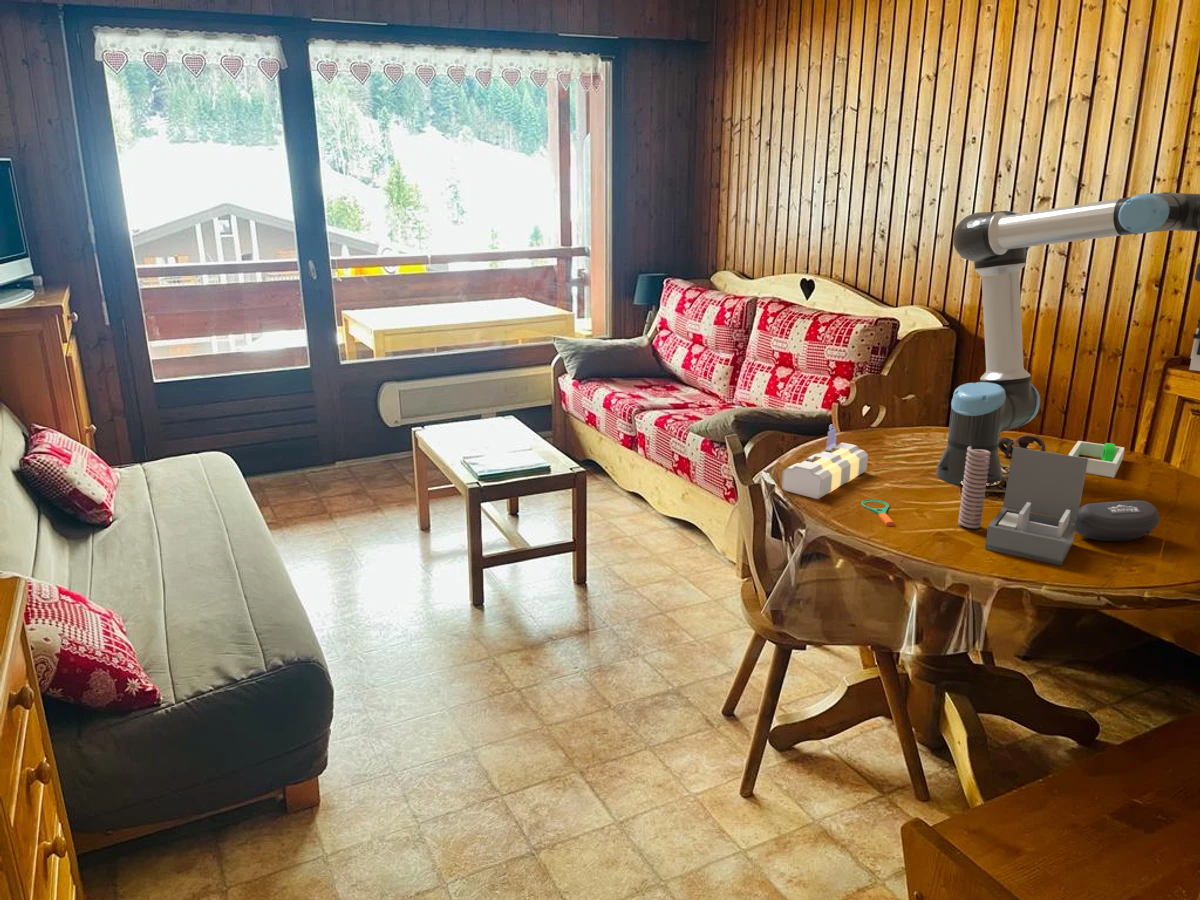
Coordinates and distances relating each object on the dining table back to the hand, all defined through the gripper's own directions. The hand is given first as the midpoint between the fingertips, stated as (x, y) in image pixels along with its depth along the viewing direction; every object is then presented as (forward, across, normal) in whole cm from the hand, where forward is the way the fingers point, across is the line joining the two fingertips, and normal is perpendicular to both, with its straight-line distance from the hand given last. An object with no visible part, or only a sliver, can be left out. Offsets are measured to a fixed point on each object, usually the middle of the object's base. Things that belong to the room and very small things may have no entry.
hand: (1197, 364), depth 184 cm
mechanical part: (+37, +37, +12) cm, 54 cm away
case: (+34, -37, +22) cm, 55 cm away
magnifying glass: (+35, -35, +53) cm, 73 cm away
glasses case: (+34, -22, +9) cm, 42 cm away
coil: (+35, -33, +35) cm, 59 cm away
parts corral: (+34, +30, +16) cm, 48 cm away
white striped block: (+36, -22, +71) cm, 82 cm away
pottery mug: (+36, +25, +35) cm, 56 cm away
